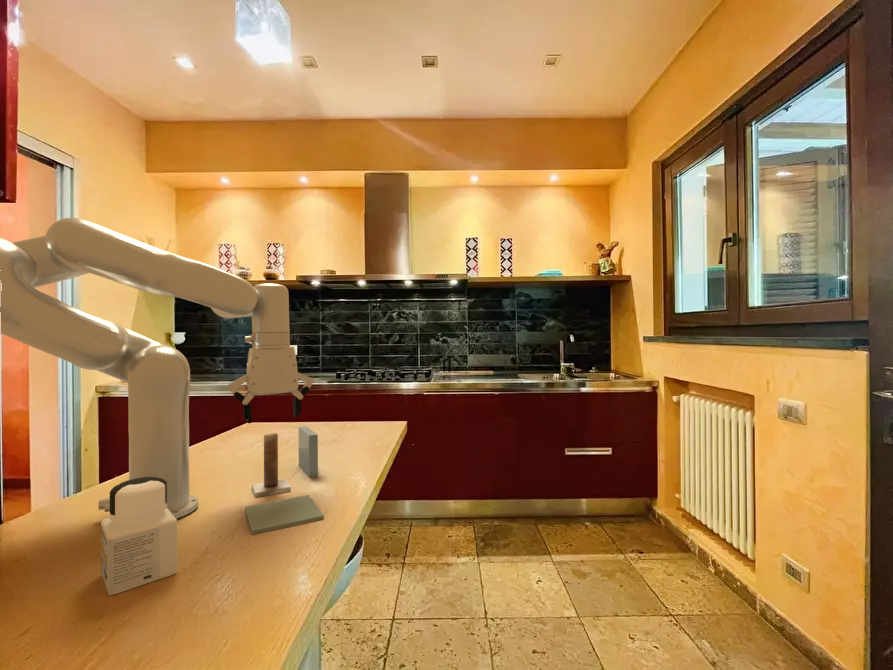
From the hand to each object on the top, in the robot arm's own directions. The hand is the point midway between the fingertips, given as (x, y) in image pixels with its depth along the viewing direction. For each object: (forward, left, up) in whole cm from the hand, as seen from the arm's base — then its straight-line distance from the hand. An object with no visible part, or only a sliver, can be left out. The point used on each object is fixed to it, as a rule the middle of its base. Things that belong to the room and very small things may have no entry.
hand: (273, 419), depth 94 cm
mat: (-1, -15, -15) cm, 21 cm away
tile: (+9, +10, -15) cm, 21 cm away
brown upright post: (-1, 0, -15) cm, 15 cm away
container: (-22, -26, -16) cm, 37 cm away
